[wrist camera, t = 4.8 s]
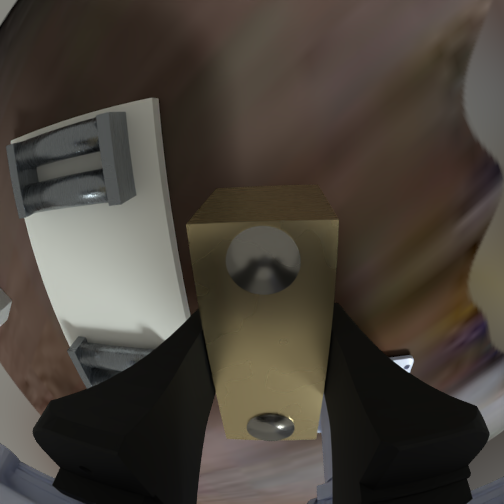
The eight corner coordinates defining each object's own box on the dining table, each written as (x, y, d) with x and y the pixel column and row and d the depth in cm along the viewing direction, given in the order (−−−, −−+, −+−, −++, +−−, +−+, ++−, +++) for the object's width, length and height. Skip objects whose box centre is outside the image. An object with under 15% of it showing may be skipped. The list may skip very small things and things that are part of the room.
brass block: (310, 372, 14) (316, 441, 11) (237, 372, 15) (226, 440, 11) (317, 184, 11) (339, 221, 7) (216, 188, 11) (185, 226, 7)
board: (206, 386, 24) (204, 394, 24) (90, 372, 26) (86, 379, 25) (158, 98, 16) (152, 97, 15) (19, 138, 17) (10, 140, 16)
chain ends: (183, 389, 24) (178, 407, 22) (98, 378, 24) (89, 392, 23) (125, 111, 15) (108, 112, 13) (25, 141, 16) (6, 146, 14)
